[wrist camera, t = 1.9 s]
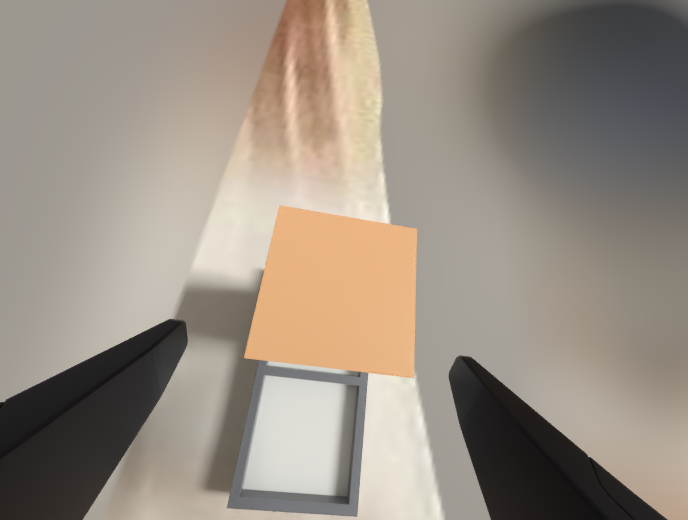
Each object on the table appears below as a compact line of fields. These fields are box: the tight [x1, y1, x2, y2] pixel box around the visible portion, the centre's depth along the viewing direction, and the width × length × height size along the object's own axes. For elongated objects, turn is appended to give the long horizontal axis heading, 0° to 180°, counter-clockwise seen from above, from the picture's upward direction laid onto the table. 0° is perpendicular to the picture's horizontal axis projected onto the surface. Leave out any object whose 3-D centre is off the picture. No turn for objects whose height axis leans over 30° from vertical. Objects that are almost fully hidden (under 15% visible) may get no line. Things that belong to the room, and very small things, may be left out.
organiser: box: [227, 360, 368, 517], centre depth 17 cm, size 14×7×2 cm, turn 173°
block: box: [244, 205, 417, 378], centre depth 12 cm, size 4×4×12 cm
